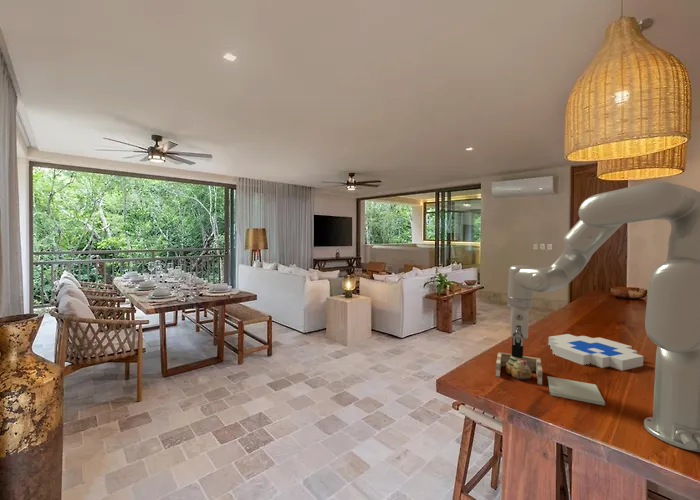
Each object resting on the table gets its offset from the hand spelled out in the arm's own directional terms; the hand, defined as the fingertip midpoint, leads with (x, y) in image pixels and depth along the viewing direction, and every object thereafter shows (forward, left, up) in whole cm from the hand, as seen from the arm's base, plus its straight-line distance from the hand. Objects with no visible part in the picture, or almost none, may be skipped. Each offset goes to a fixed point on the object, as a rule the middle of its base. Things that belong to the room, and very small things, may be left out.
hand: (517, 352), depth 110 cm
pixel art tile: (+35, -27, -9) cm, 45 cm away
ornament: (0, -1, -8) cm, 8 cm away
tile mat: (-5, -16, -8) cm, 18 cm away
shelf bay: (+2, -1, -8) cm, 8 cm away
